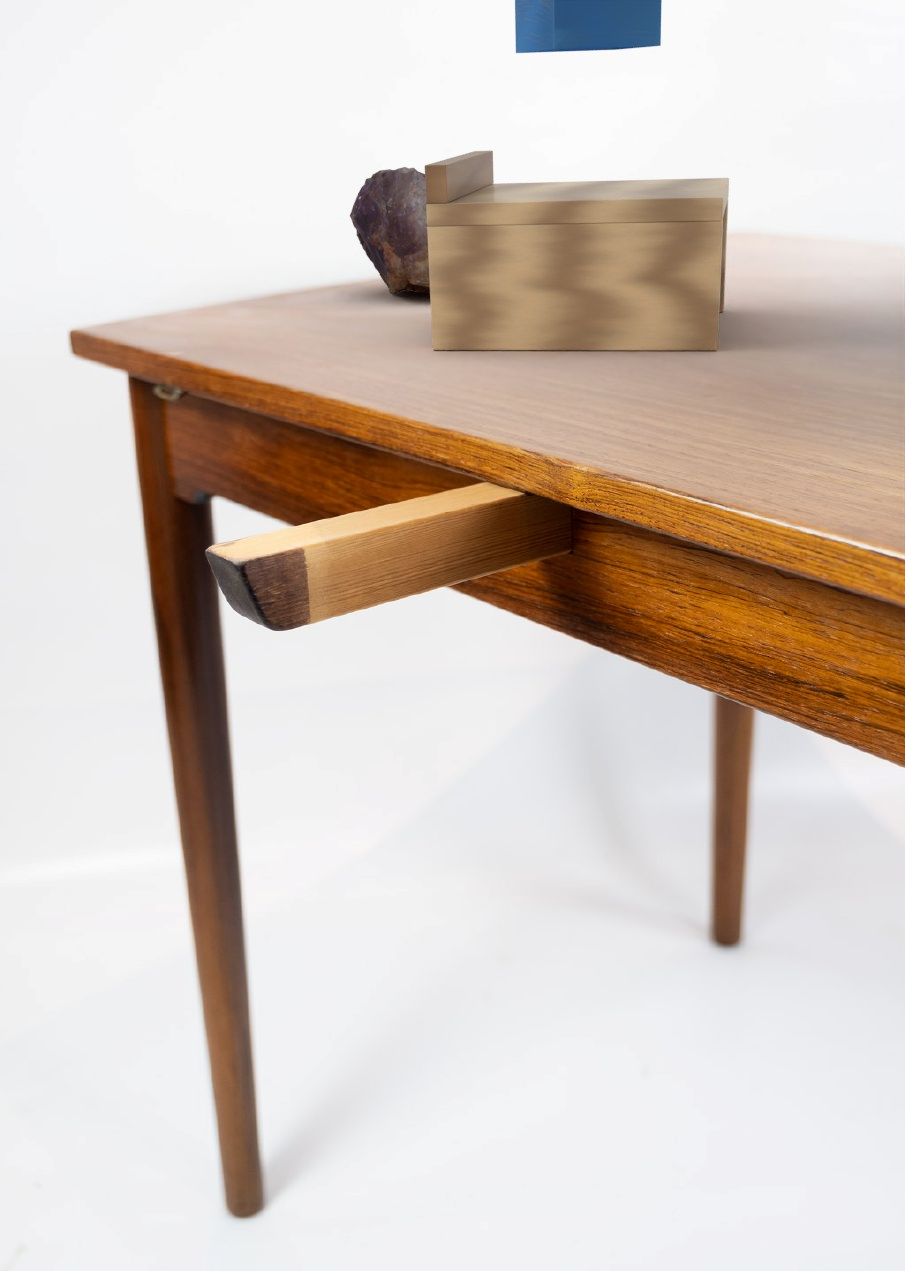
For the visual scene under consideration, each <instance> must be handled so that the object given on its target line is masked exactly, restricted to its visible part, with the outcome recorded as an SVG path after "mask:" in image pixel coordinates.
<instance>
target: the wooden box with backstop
mask: <svg viewBox="0 0 905 1271" xmlns="http://www.w3.org/2000/svg"><path fill="white" fill-rule="evenodd" d="M424 174H425V187H426V203H427V205H426V208H427V226H428V227H427V232H428V255H429V278H430V293H429V296H430V298H429V300H430V321H431V343H432V346H431V347H432V350H433V351H716V352H717V351H718V349H719V332H720V331H719V330H720V313H723V312H724V310H725V295H726V294H725V292H726V268H727V243H728V242H727V240H728V215H729V194H730V193H729V192H730V190H729V189H730V178H729V177H710V178H709V177H707V178H705V177H704V178H703V177H702V178H701V177H700V178H669V179H668V178H667V179H665V178H664V179H628V180H627V179H626V180H592V181H591V180H590V181H589V180H586V181H585V180H584V181H547V182H545V181H544V182H511V183H510V182H509V183H508V182H507V183H505V182H504V183H494V181H495V180H494V151H493V150H474V151H471V152H470V151H469V152H467V153H464V154H463V153H462V154H459V155H456V156H452V157H449V158H445V159H443V160H439V161H435V162H431V163H428V164H425V165H424Z"/></svg>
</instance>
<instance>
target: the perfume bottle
mask: <svg viewBox="0 0 905 1271" xmlns="http://www.w3.org/2000/svg"><path fill="white" fill-rule="evenodd" d="M662 4H663V3H662V0H514V23H515V26H514V27H515V28H514V29H515V30H514V33H515V35H514V36H515V54H529V53H530V54H531V53H534V54H535V53H557V52H559V53H560V52H561V53H562V52H589V51H590V52H591V51H615V50H616V51H617V50H618V51H619V50H628V49H640V48H651V47H652V48H653V47H661V44H662Z"/></svg>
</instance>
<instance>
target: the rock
mask: <svg viewBox="0 0 905 1271" xmlns="http://www.w3.org/2000/svg"><path fill="white" fill-rule="evenodd" d="M426 205H427V203H426V187H425V172H424V173H423V172H421V171H419V170H417V169H416V168H415V167H407V166H403V167H399V168H397V169H389V168H387V169H381V170H378V171H376V172H375V173H373V174H371V177H367V178H365V181H364V183H363V185H362V186H361V187H360V190H359V191H358V193H357V195H356V197H355V200H354V202H353V204H352V208H351V211H350V214H349V218H350V219H351V223H352V225H353V227H354V229H355V230H356V238H357V240H358V241H359V244H360V246H361V247H362V248H361V249H362V250H363V251H364V252H365V256H367V258H368V259H369V260H370V262H371V263H372V264H373V267H374V269H375V270H376V271H377V273H378V274H379V276H380V278H381V280H382V281H383V282H384V284H385V285H386V286H387V288H388V291H389V293H390V294H391V295H397V294H399V293H402V292H406V291H411V292H414V293H424V294H425V293H426V294H430V278H429V255H428V232H427V227H428V226H427V208H426Z"/></svg>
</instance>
